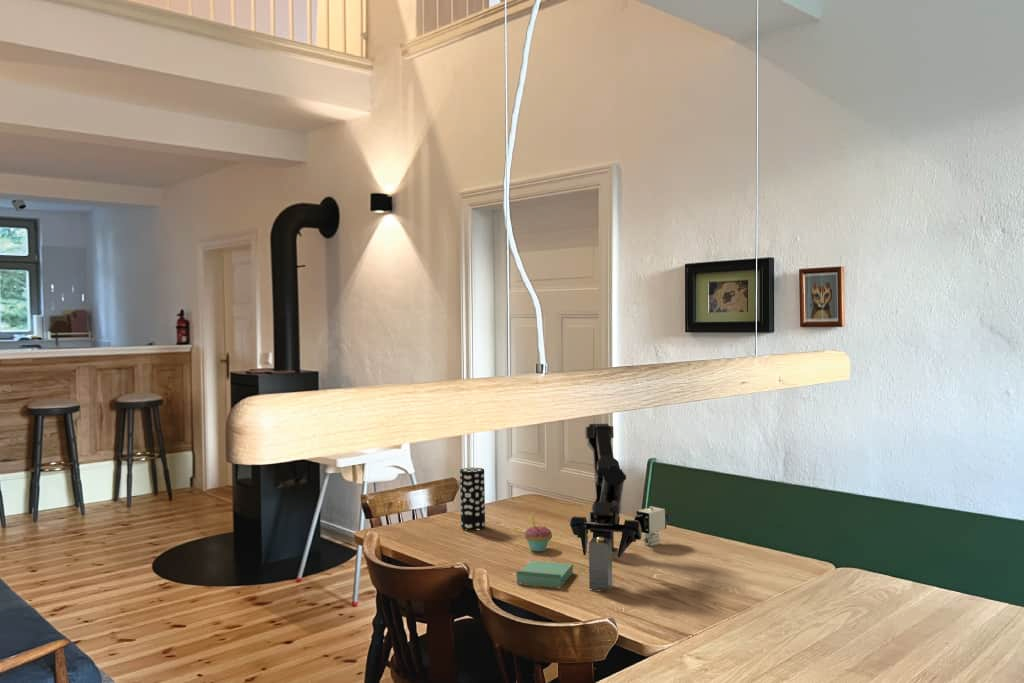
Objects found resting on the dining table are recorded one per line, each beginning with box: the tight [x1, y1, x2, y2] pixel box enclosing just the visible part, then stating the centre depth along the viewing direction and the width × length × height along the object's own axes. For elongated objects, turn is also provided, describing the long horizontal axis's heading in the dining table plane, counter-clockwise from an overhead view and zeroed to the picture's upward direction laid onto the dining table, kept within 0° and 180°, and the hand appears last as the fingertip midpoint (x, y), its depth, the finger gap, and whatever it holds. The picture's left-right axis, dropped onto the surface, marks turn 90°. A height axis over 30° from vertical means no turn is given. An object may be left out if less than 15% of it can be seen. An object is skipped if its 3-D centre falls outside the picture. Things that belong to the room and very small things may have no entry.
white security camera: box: [633, 505, 670, 547], centre depth 241 cm, size 6×12×12 cm, turn 130°
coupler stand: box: [516, 560, 574, 589], centre depth 210 cm, size 13×12×4 cm
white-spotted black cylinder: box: [459, 467, 486, 530], centre depth 264 cm, size 8×8×20 cm
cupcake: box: [523, 511, 553, 552], centre depth 238 cm, size 9×8×12 cm
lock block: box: [588, 537, 613, 592], centre depth 202 cm, size 5×5×13 cm
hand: (601, 556), depth 202 cm, fingers open, 9 cm apart
